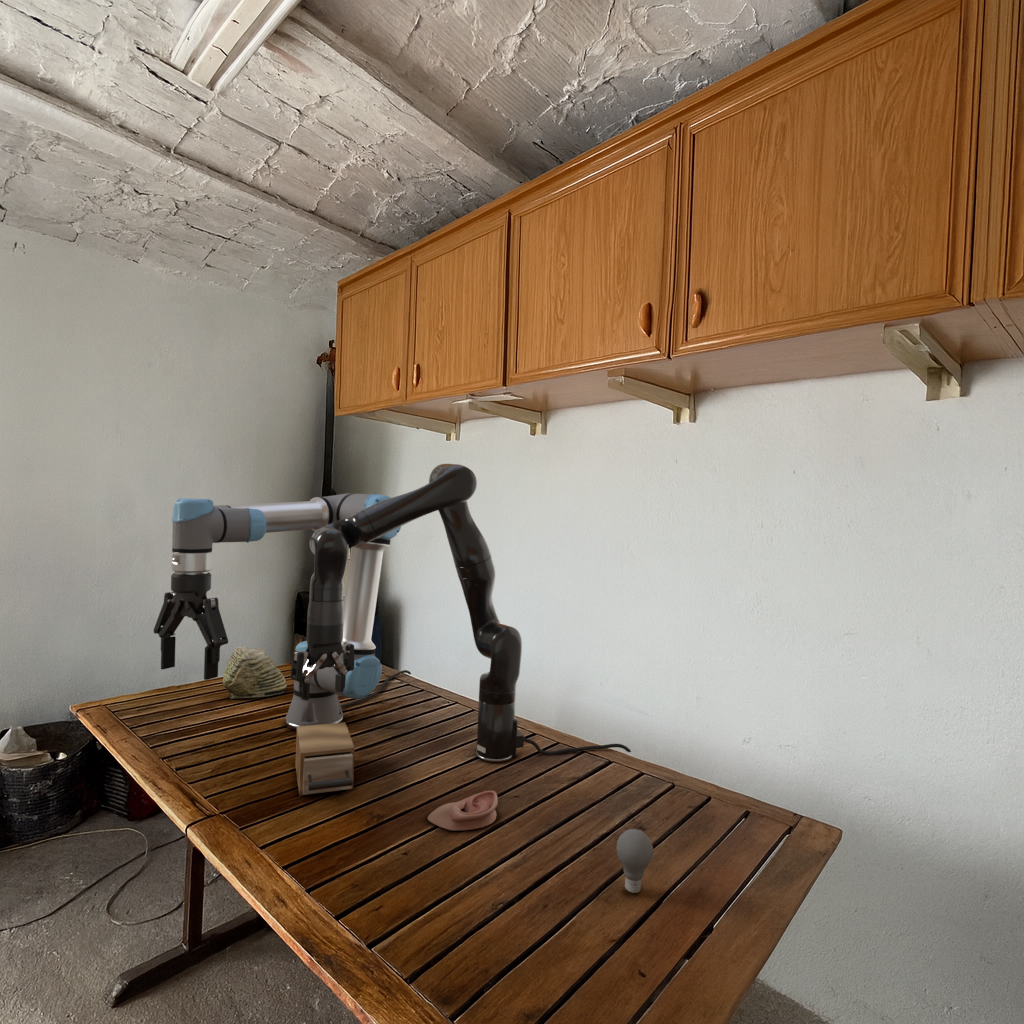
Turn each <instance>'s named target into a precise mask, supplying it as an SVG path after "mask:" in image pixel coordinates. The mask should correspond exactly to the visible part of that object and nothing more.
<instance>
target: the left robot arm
mask: <svg viewBox="0 0 1024 1024" xmlns="http://www.w3.org/2000/svg"><path fill="white" fill-rule="evenodd" d="M390 498H392V497H390V496H389V495H384V494H379V493H354V492H353V493H352V492H351V493H350V492H349V493H347V492H346V493H340V494H336V495H335V494H333V495H328V496H315V497H313V498H311V499H310V500H309V501H307V500H306V501H285V502H263V503H246V504H245V503H241V504H240V503H239V504H226V505H224V504H219V505H214V501H213V500H212V499H210V498H189V497H187V498H186V497H185V498H183V497H181V498H178V499H176V500H175V501H174V503H173V509H172V518H171V523H172V534H171V535H172V536H171V537H172V539H171V540H172V541H171V543H172V544H171V571H172V572H173V573H172V574H171V576H170V590H171V591H169V592H165V593H164V596H163V603H162V606H161V609H160V611H159V614H158V617H157V619H156V622H155V625H154V627H153V633H154V635H157V634H158V637H159V638H160V670H167V669H171V668H175V667H176V640H177V639H176V631H177V629H178V628H179V626H180V624H181V623H182V621H183V620H184V619H185V617H187V618H188V619H189V618H190V619H191V620H192V621H194V622H195V623H196V624H197V627H198V629H199V631H200V633H201V635H202V637H203V640H204V641H205V644H206V646H204V656H203V657H204V659H203V660H204V661H203V662H204V664H203V669H204V670H203V680H205V681H208V680H212V679H215V678H219V663H220V661H221V660H220V659H221V658H220V657H221V647H222V646H224V645H228V643H229V639H228V636H227V632H226V631H227V630H226V628H225V625H224V621H223V618H222V614H221V612H220V607H219V598H218V597H209V598H208V596H207V592H209V591H210V590H211V589H212V573H211V572H210V571H211V570H213V545H214V544H219V543H247V544H248V543H249V542H258V541H260V540H262V539H263V538H264V536H266V535H265V534H269V533H270V534H271V533H281V532H292V531H293V532H295V531H304V530H312V531H313V532H315V531H317V530H318V529H320V528H322V527H324V526H326V525H329V524H331V523H334V522H336V521H339V520H342V519H345V518H348V517H350V516H352V515H354V514H356V513H358V512H359V511H362V510H364V509H366V508H368V507H370V506H372V505H374V504H376V503H379V502H381V501H384V500H387V499H390ZM401 529H402V526H401V527H399V528H397V529H395V530H393V531H391V532H389V533H387V534H385V535H383V536H381V537H379V538H377V539H375V540H373V541H370V542H367V543H361V544H358V545H356V546H353V547H351V548H350V554H349V559H348V561H349V562H348V568H347V574H346V582H345V587H344V598H343V603H344V626H343V641H342V642H341V644H342V645H343V644H344V643H345V642H347V643H350V644H353V645H354V670H353V671H349V672H347V674H346V681H345V689H344V691H343V692H340V693H339V692H337V691H335V677H336V674H337V672H336V670H335V669H334V667H330V668H329V667H326V668H324V669H318V671H317V672H316V674H314V675H313V676H312V678H311V679H310V681H309V683H310V694H309V700H306V701H305V700H302V699H301V697H299V682H298V681H295V680H293V695H292V696H293V697H292V699H291V702H290V704H289V708H288V711H287V713H286V714H285V726H286V728H287V729H289V730H291V731H294V732H295V731H296V732H297V726H309V725H320V724H332V723H343V722H344V714H343V709H344V708H346V707H350V706H353V705H356V704H359V703H361V702H364V701H368V700H369V699H372V698H373V697H375V696H376V695H378V694H379V693H381V691H382V690H383V688H384V687H385V685H386V684H387V683H388V682H389V681H390V680H391V679H393V678H395V677H398V676H400V675H402V674H408V675H412V672H411V671H409V670H407V669H404V670H401V671H399V672H396V673H394V674H392V675H390V676H388V677H387V678H386V679H385V680H384V681H383V682H382V683H381V686H379V688H378V689H377V690H376V688H377V686H378V685H379V683H380V681H381V678H382V674H383V667H382V663H381V662H380V659H379V658H377V656H376V649H377V646H376V644H374V642H373V641H372V636H373V630H374V629H373V628H374V623H375V614H376V608H377V599H378V593H379V586H380V579H381V572H382V563H383V558H384V557H383V556H384V552H385V551H386V550H387V549H388V548H390V546H391V540H392V539H393V538H395V537H396V536H397V535H398V533H400V531H401ZM307 647H308V645H307V640H304V641H300V642H299V643H298V644H297V645H296V646H295V651H299V652H303V651H306V650H307ZM339 658H340V659H341V661H342V662H343V653H341V654H340V656H339ZM305 659H306V660H305V661H304V664H303V666H304V665H305V663H306V662H307V660H308V659H307V657H306V658H305ZM312 667H313V666H312V665H311V667H310V668H312ZM400 673H401V674H400ZM373 690H376V691H374V692H373ZM372 692H373V693H372ZM339 695H340V696H341V697H343V698H346V699H353V701H350V702H347V703H344V704H343V703H342V704H341V702H340V699H339ZM342 708H343V709H342Z"/></svg>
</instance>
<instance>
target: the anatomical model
mask: <svg viewBox="0 0 1024 1024" xmlns="http://www.w3.org/2000/svg"><path fill="white" fill-rule="evenodd" d="M498 802H499V800H498V794H497V792H496V791H494V790H485V791H482V792H477V793H474V794H472V795H469V796H468V797H465V798H463V799H461V800H458V801H456V802H449V803H445V804H442V805H440V806H439V807H437V808H435V809H434V810H433V811H431V812H430V814H428V816H427V821H429V823H430V824H432V825H434V826H437V827H439V828H442V829H444V830H448V831H454V832H455V831H456V832H458V831H471V830H475V829H479V828H481V829H482V828H485V827H487V826H489V825H491V824H492V823H494V822H495V821H496V820H497V811H496V808H497V807H498Z"/></svg>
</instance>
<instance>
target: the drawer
mask: <svg viewBox="0 0 1024 1024" xmlns="http://www.w3.org/2000/svg"><path fill="white" fill-rule="evenodd" d="M352 764H353V755H352V754H348V752H344V753H334V754H324V755H315V756H305V759H304V770H303V795H302V796H307V795H313V794H314V793H315V794H322V792H323V793H330V791H331V792H338V790H339V791H344V790H345V791H346V789H347V790H352V789H351V788H352V785H353V786H354V778H353V779H352ZM306 794H307V795H306ZM315 794H314V795H315Z"/></svg>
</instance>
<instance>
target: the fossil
mask: <svg viewBox="0 0 1024 1024" xmlns="http://www.w3.org/2000/svg"><path fill="white" fill-rule="evenodd" d="M222 676H223V677H222V685H223V687H224V688H225V690H226V691H228V693H229V698H230V699H250V698H264V697H271V696H275V695H281V694H284V693H285V691H286V689H287V687H288V686H287V680H286V678H285V676H284V674H283V673H282V672H281V669H279V668H278V667H277V665H276V663H275V662H274V660H273V659H272V658H271V657H270V656H269V655H268V654H267V653H266V652H265V650H264V649H263V648H260V647H258V648H251V647H247V646H246V647H245V646H238V647H237V648H236V649H235V650H233V651H232V653H231V656H230V657H229V659H228V660H227V663H226V666H225V668H224V671H223V675H222Z"/></svg>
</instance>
